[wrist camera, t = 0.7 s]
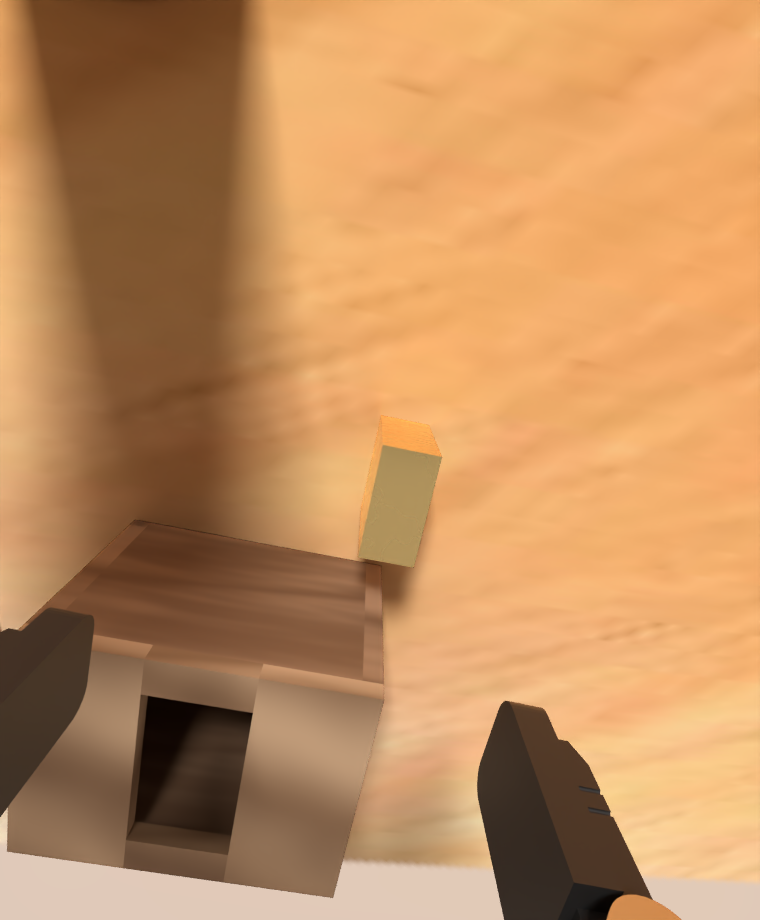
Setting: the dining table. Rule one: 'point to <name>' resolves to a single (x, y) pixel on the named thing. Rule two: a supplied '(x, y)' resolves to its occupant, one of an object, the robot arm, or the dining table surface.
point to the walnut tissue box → (213, 713)
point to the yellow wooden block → (398, 491)
